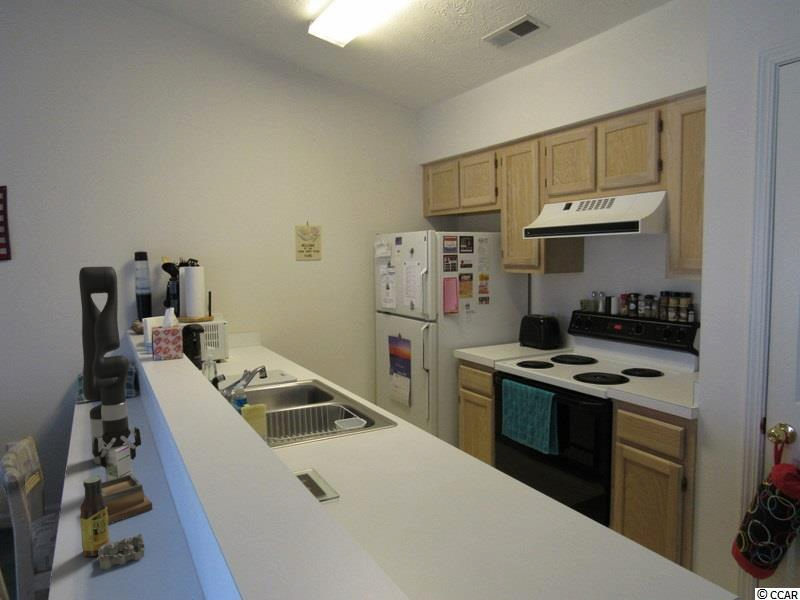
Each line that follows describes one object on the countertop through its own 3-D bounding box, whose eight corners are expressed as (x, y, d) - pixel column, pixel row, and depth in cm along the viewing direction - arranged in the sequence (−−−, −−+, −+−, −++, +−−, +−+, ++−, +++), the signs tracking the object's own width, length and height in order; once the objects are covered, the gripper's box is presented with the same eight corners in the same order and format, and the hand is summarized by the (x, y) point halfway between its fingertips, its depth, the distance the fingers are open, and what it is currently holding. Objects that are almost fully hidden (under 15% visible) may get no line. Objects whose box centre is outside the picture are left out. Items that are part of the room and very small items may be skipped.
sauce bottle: (97, 559, 134) (91, 487, 132) (76, 556, 135) (70, 484, 133) (115, 544, 140) (110, 475, 138) (96, 542, 142) (90, 473, 139)
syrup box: (133, 484, 175) (130, 443, 173) (119, 492, 170) (115, 450, 168) (120, 481, 177) (117, 441, 175) (105, 489, 171) (102, 447, 170)
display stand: (87, 506, 161) (85, 483, 160) (136, 491, 170) (134, 469, 169) (101, 526, 149) (99, 502, 148) (152, 509, 159) (150, 486, 158)
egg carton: (98, 573, 129) (97, 558, 129) (98, 557, 136) (97, 542, 135) (145, 559, 134) (144, 545, 134) (143, 544, 141) (142, 530, 140)
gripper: (134, 408, 178) (137, 453, 180) (87, 418, 168) (91, 466, 170) (141, 413, 173) (144, 459, 174) (93, 423, 163) (97, 473, 165)
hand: (118, 462), depth 172 cm, fingers open, 8 cm apart
